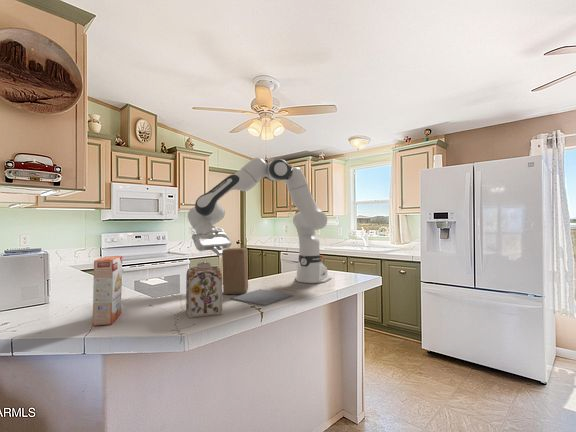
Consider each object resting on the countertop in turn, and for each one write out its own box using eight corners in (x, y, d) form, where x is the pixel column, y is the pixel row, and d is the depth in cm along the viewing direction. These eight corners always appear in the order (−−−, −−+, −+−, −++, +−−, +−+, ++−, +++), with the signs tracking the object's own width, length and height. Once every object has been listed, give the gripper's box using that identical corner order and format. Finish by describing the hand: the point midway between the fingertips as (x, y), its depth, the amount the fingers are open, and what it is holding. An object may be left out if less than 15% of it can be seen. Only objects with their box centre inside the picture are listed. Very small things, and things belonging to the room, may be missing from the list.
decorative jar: (185, 309, 119) (186, 261, 119) (217, 306, 123) (217, 260, 123) (188, 318, 108) (188, 265, 108) (222, 315, 112) (222, 264, 112)
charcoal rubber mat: (260, 290, 151) (260, 289, 151) (293, 295, 140) (293, 294, 140) (229, 299, 134) (229, 297, 134) (264, 306, 123) (264, 304, 123)
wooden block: (245, 293, 141) (243, 248, 142) (222, 294, 141) (221, 249, 142) (248, 289, 151) (247, 247, 152) (227, 290, 151) (226, 248, 152)
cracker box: (113, 325, 101) (113, 259, 101) (91, 326, 99) (92, 260, 100) (122, 312, 115) (123, 255, 115) (103, 314, 113) (104, 255, 113)
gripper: (193, 229, 148) (207, 252, 142) (225, 228, 165) (239, 248, 159) (187, 239, 150) (200, 261, 145) (219, 237, 167) (232, 256, 161)
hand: (221, 254), depth 152 cm, fingers closed
